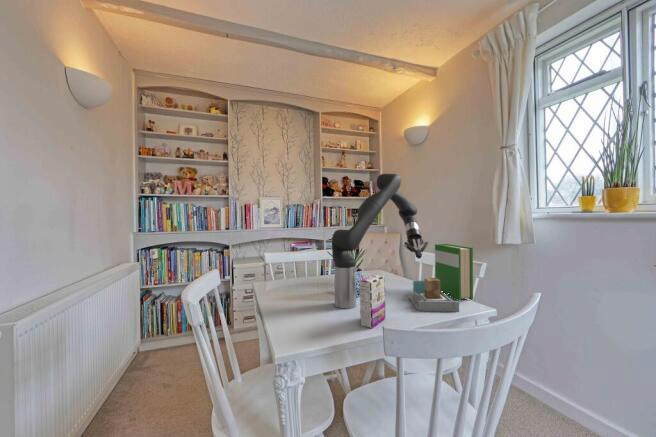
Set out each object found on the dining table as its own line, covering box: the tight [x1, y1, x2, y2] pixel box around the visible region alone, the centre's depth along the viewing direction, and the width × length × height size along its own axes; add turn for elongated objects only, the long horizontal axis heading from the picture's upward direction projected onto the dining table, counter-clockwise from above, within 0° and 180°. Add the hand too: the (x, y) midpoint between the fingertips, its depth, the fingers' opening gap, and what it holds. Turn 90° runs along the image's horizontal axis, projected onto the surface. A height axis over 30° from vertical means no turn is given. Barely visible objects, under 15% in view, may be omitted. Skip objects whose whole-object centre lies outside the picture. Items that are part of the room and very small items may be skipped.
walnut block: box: [424, 277, 440, 299], centre depth 114 cm, size 5×5×9 cm
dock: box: [408, 290, 460, 312], centre depth 115 cm, size 16×17×4 cm
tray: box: [412, 280, 447, 301], centre depth 116 cm, size 12×15×7 cm
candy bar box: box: [359, 274, 386, 329], centre depth 97 cm, size 11×5×16 cm, turn 143°
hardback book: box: [434, 243, 474, 301], centre depth 129 cm, size 18×7×24 cm, turn 12°
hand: (419, 257), depth 134 cm, fingers closed
